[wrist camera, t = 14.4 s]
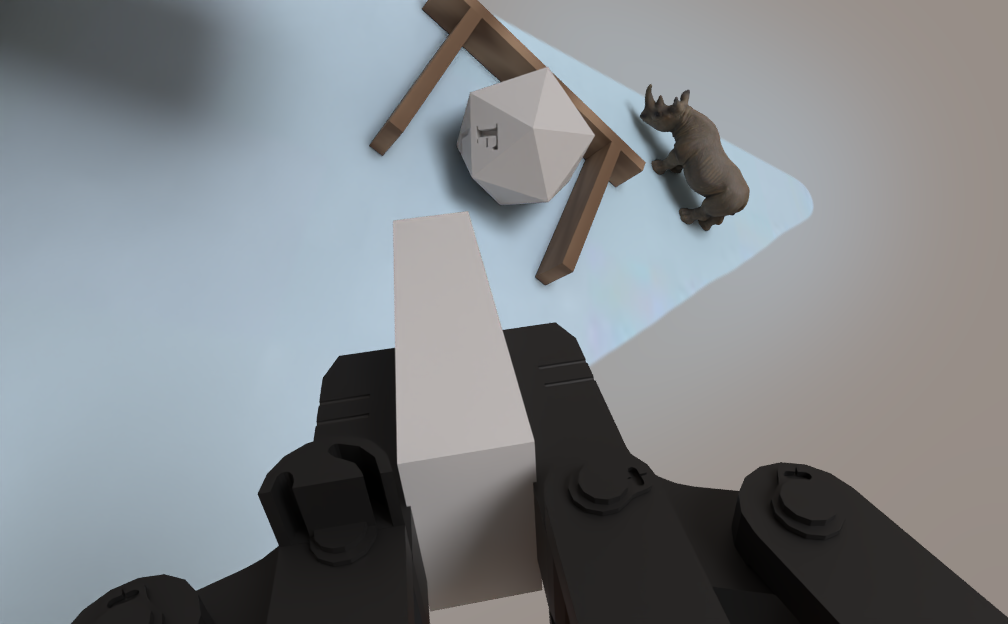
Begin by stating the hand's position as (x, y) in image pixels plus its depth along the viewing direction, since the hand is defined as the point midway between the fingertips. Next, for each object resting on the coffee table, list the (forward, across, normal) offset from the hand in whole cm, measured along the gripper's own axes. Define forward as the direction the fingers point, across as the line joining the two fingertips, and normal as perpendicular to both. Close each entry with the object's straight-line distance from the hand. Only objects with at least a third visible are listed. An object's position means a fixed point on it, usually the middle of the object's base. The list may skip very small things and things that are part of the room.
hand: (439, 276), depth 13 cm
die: (+30, +5, -8) cm, 32 cm away
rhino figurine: (+39, +22, -14) cm, 47 cm away
